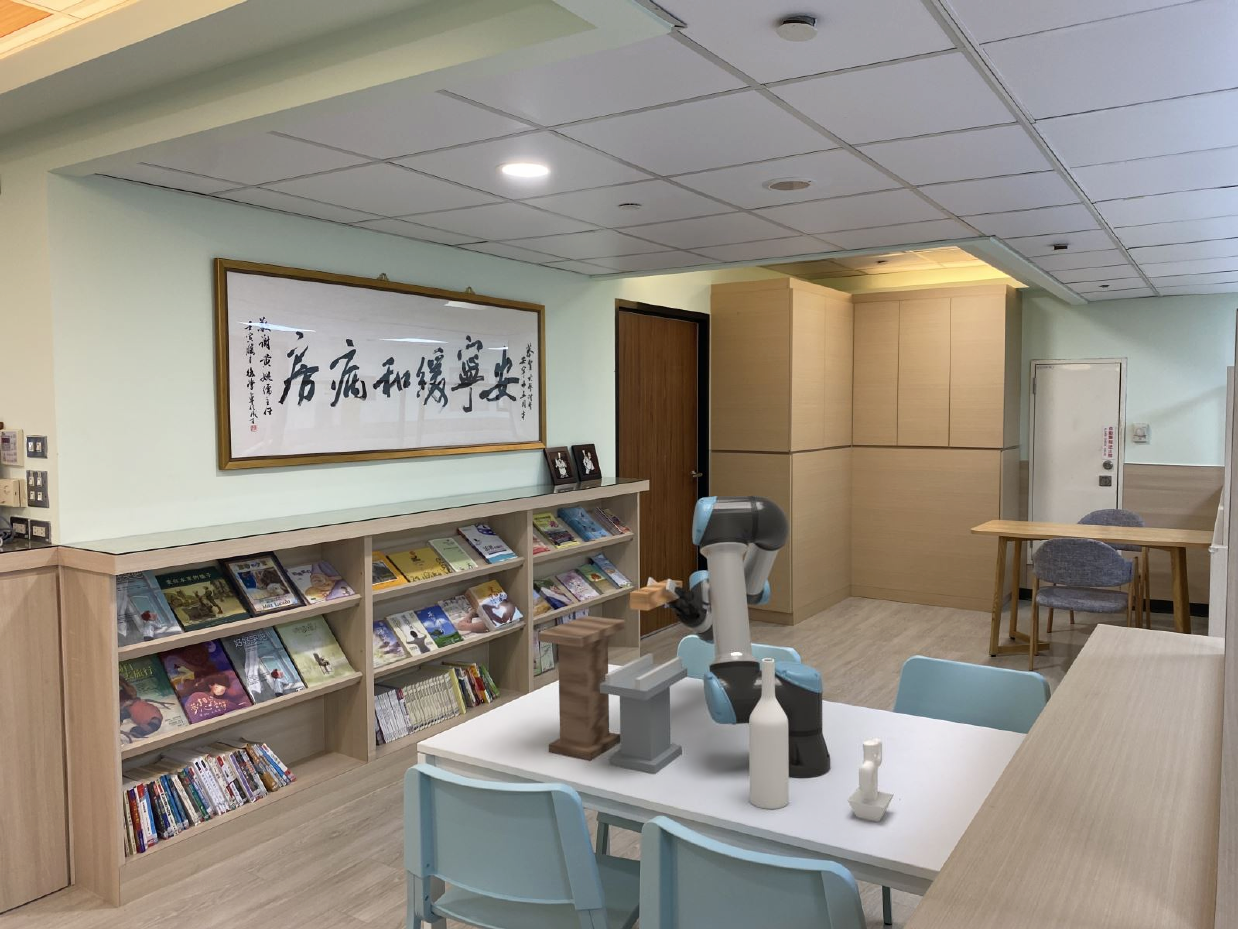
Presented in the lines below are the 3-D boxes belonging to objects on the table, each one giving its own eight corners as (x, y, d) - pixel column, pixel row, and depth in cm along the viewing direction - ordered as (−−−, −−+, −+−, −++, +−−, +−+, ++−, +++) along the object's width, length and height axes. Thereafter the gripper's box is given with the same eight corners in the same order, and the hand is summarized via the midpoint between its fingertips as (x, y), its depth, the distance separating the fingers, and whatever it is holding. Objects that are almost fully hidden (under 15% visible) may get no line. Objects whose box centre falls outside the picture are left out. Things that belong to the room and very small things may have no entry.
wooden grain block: (666, 595, 233) (666, 579, 233) (682, 596, 231) (682, 581, 231) (630, 608, 217) (630, 592, 216) (647, 610, 214) (647, 593, 214)
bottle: (796, 803, 189) (796, 661, 187) (766, 813, 185) (765, 667, 183) (771, 790, 196) (770, 652, 194) (741, 799, 191) (740, 658, 190)
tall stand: (587, 730, 235) (585, 615, 234) (627, 738, 229) (625, 620, 228) (540, 757, 217) (537, 633, 215) (582, 766, 211) (580, 638, 209)
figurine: (845, 820, 181) (845, 746, 180) (860, 803, 189) (859, 732, 188) (882, 828, 177) (882, 752, 176) (895, 810, 185) (895, 738, 184)
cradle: (644, 741, 227) (643, 652, 225) (688, 749, 221) (687, 658, 219) (601, 770, 208) (599, 673, 207) (647, 779, 202) (645, 680, 201)
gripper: (721, 631, 236) (687, 600, 218) (661, 624, 245) (624, 594, 227) (727, 604, 239) (694, 571, 221) (667, 598, 248) (630, 566, 230)
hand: (658, 583), depth 224 cm, fingers closed on wooden grain block, 5 cm apart
